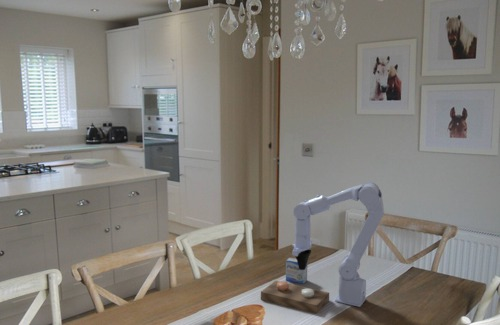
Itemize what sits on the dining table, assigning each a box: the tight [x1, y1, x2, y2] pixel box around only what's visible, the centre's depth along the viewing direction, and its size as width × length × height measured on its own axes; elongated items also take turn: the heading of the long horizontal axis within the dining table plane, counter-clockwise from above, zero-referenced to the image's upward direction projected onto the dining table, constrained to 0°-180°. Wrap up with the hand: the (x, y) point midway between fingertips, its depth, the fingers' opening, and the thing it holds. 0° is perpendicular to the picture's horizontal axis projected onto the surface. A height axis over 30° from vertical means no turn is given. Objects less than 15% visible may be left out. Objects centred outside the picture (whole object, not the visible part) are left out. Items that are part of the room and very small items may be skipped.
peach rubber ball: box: [277, 280, 290, 291], centre depth 163 cm, size 4×4×4 cm
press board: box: [260, 280, 330, 314], centre depth 160 cm, size 22×12×3 cm, turn 60°
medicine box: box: [285, 257, 309, 285], centre depth 178 cm, size 8×4×9 cm, turn 62°
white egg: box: [302, 288, 314, 298], centre depth 158 cm, size 4×4×4 cm
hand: (302, 269), depth 166 cm, fingers closed
